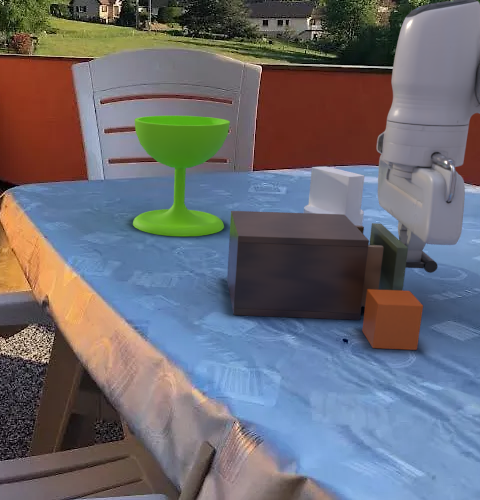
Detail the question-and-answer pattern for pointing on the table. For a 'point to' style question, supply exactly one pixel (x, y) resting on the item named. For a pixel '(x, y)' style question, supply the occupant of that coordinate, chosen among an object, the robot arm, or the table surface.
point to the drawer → (389, 261)
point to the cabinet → (296, 265)
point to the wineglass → (180, 168)
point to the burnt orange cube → (392, 319)
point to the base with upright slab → (336, 193)
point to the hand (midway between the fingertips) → (408, 260)
